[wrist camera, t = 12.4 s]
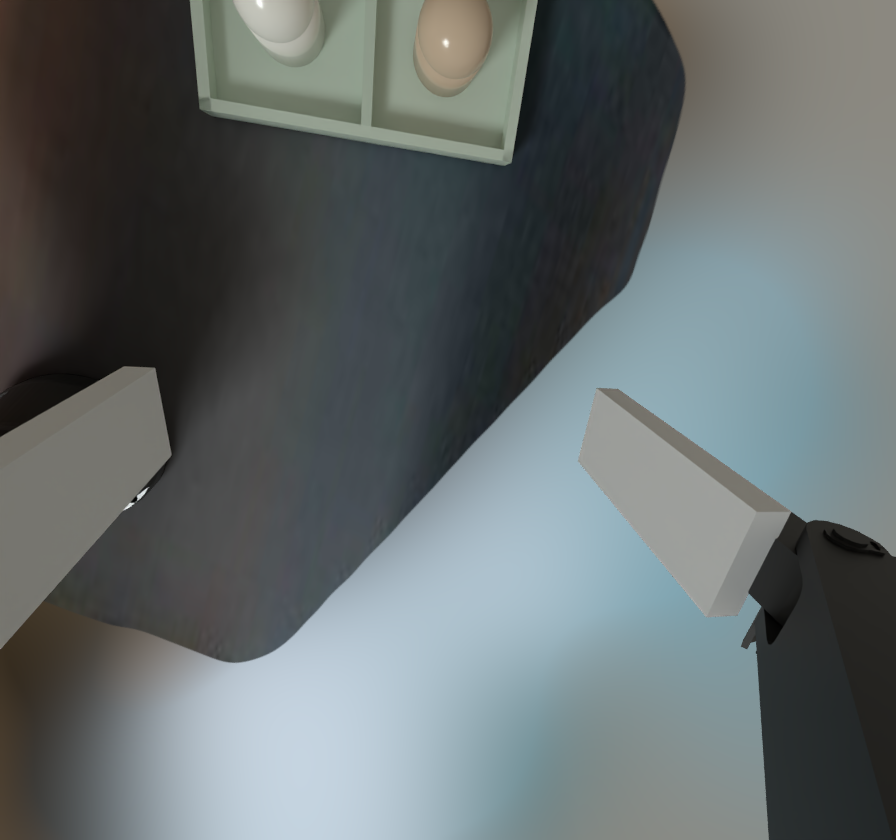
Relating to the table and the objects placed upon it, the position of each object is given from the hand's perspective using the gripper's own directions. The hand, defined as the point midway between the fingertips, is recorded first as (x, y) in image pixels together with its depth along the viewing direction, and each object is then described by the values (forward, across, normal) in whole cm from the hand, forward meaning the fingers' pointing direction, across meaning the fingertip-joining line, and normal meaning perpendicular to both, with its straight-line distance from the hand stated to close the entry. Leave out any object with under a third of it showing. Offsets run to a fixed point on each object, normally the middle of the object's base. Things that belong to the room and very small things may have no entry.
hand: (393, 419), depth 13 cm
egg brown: (+30, +4, +18) cm, 36 cm away
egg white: (+30, -8, +18) cm, 36 cm away
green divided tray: (+31, -2, +18) cm, 36 cm away
